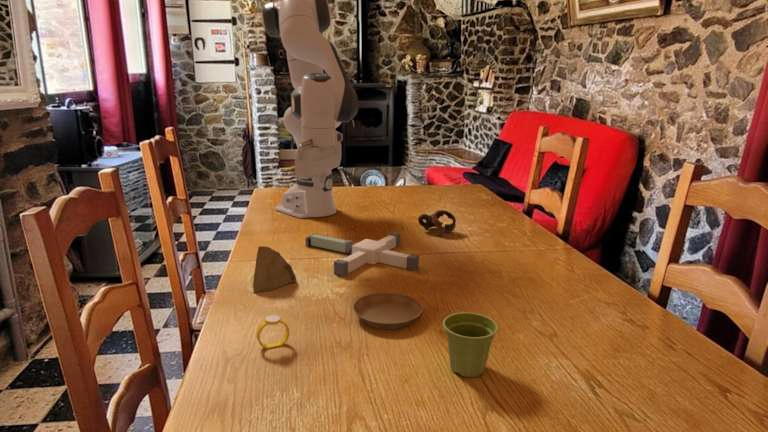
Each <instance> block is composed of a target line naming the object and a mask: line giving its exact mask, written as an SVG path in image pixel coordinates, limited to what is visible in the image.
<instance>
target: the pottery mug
mask: <svg viewBox="0 0 768 432" xmlns="http://www.w3.org/2000/svg"><path fill="white" fill-rule="evenodd" d="M444 215H445V216H446V217H447V218H448V219H451V220H452V223H449V224H447V223H445V224H444V223H443V222H441V221H440V220H439V219H440V218H441V217H444ZM417 220H418V221H417V222H418V224H419V225H420V226H421V227H423V228H424V230H425V231H428V230H429V229H430V228H437V229H439V231H438V232H437V237H440V238H442V237H443V236H445V235H447V234H449V233H451V232H453V231H454V230H455V228H456V223H457V219H456V216H455V215H454V214H453V213H451V212H449V211H448V210H444V209H439V210H436V211H435V212H434V213H431V214H430V215H428V214H426V213H423V214H420V215H419V216H418V219H417ZM443 225H444V226H443Z"/></svg>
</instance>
